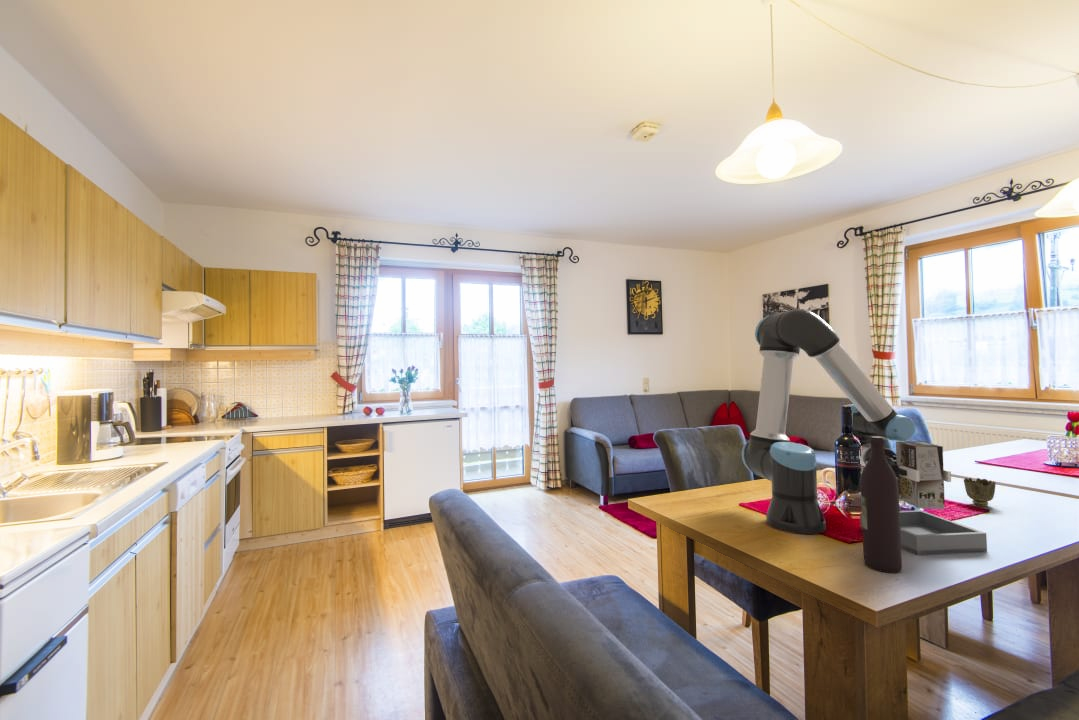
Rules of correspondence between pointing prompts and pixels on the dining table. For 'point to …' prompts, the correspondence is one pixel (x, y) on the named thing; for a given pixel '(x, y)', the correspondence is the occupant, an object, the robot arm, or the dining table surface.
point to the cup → (980, 490)
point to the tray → (937, 535)
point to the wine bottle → (880, 512)
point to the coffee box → (921, 474)
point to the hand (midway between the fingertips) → (933, 476)
